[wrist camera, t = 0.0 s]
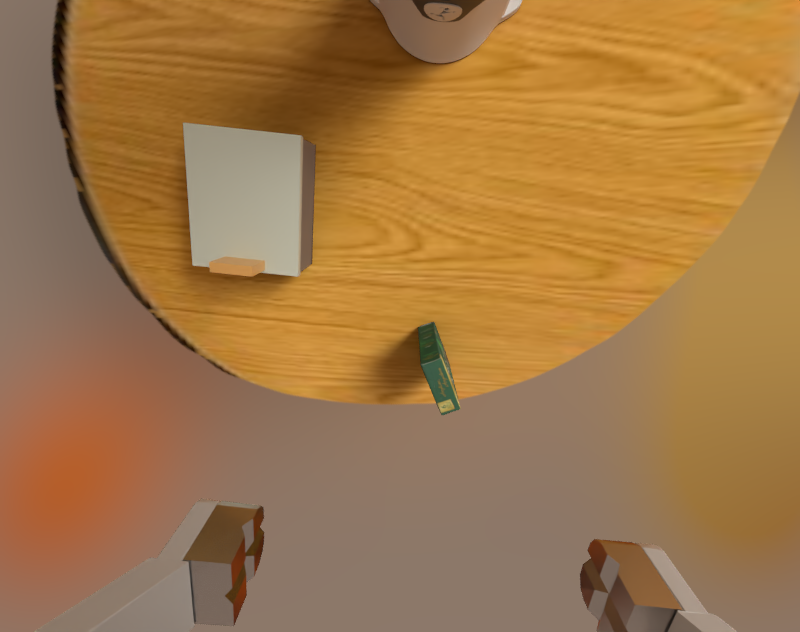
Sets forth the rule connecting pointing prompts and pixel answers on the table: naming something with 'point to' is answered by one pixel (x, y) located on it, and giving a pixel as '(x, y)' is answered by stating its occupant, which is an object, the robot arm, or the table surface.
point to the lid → (244, 199)
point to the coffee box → (437, 369)
